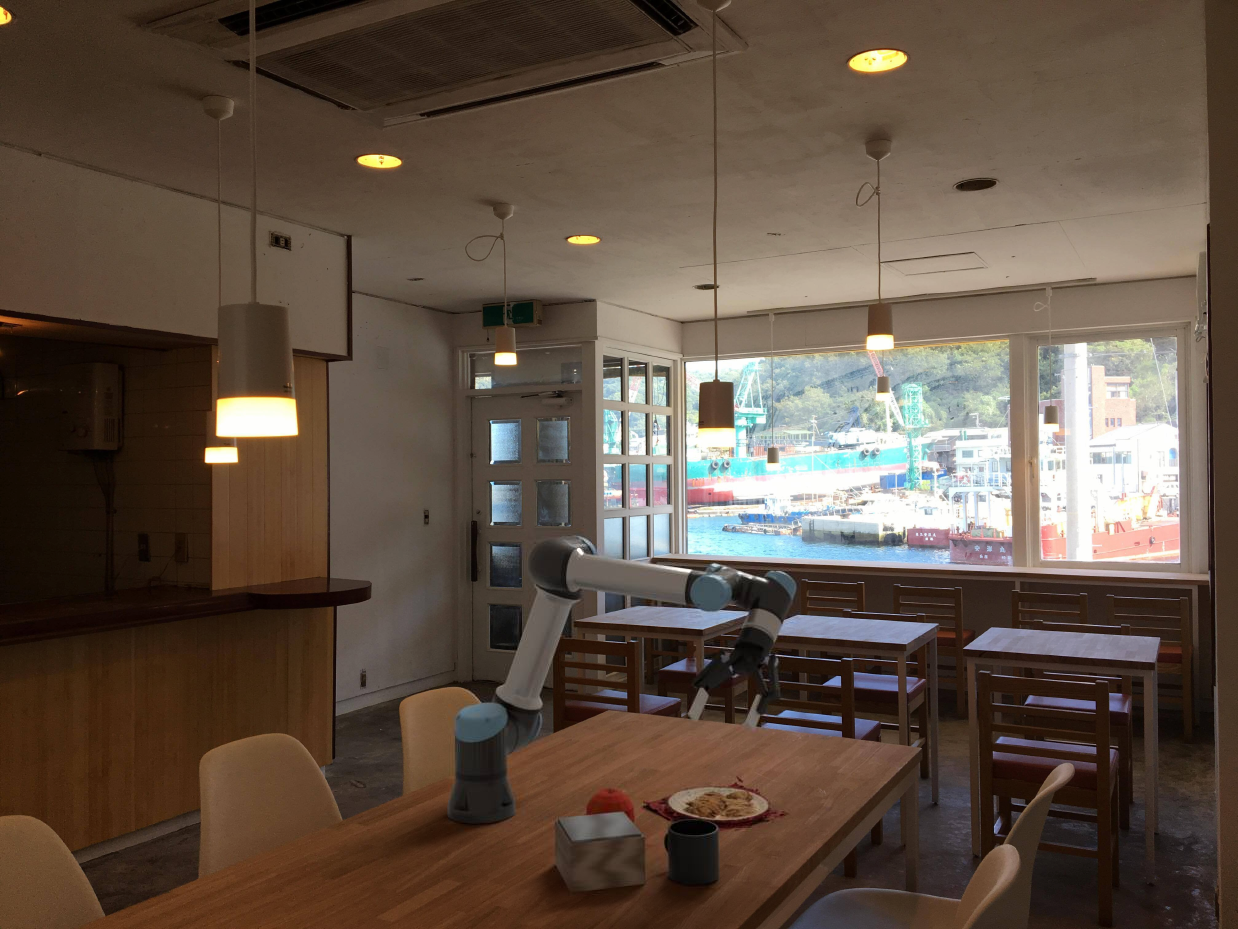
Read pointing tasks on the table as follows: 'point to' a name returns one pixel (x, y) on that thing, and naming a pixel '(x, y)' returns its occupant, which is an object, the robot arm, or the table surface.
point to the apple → (610, 803)
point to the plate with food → (717, 805)
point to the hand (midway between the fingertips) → (720, 722)
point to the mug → (692, 851)
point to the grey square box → (599, 851)
